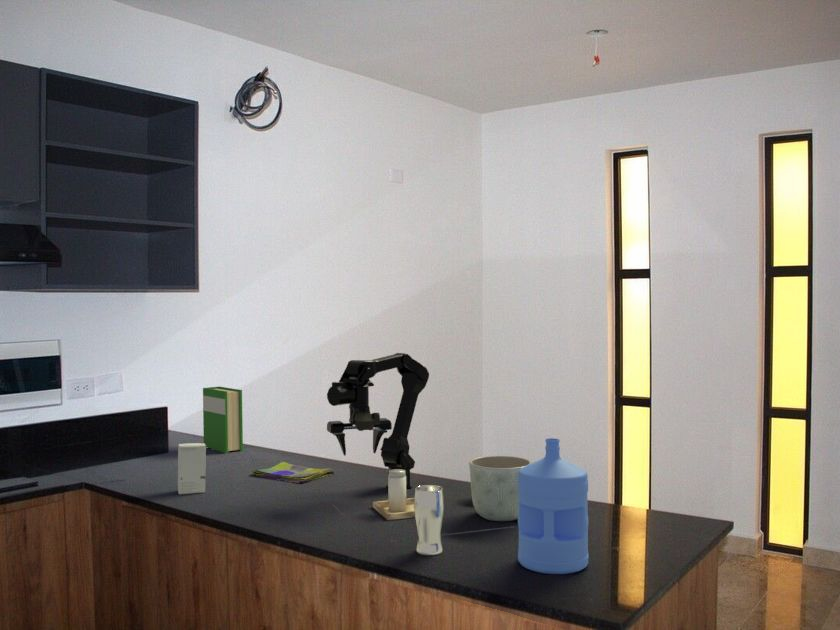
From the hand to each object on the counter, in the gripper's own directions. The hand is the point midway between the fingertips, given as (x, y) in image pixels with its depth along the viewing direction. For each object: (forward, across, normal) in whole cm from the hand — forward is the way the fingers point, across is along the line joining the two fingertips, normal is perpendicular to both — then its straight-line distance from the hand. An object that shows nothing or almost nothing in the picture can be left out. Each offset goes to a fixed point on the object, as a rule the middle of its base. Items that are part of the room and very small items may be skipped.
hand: (359, 454), depth 241 cm
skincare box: (+13, -47, +26) cm, 55 cm away
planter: (+13, +30, -35) cm, 48 cm away
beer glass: (+13, +2, -55) cm, 57 cm away
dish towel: (+14, -13, +38) cm, 42 cm away
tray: (+13, +7, -21) cm, 26 cm away
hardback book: (+13, -31, +94) cm, 99 cm away
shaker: (+12, +6, -19) cm, 24 cm away
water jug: (+13, +25, -73) cm, 78 cm away
